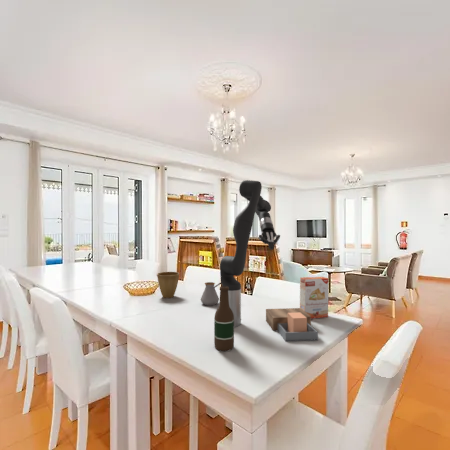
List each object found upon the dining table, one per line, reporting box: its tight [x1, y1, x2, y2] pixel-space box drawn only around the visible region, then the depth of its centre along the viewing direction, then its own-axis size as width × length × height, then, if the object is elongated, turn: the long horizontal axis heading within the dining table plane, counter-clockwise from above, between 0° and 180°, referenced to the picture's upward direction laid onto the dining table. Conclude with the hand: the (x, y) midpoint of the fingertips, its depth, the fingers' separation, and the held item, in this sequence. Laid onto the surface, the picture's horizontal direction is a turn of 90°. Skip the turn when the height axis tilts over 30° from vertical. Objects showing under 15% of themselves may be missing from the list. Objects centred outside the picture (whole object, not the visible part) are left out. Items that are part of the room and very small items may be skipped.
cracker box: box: [299, 276, 330, 320], centre depth 152 cm, size 14×6×21 cm, turn 105°
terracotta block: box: [288, 312, 307, 332], centre depth 126 cm, size 6×8×8 cm
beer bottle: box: [213, 285, 235, 352], centre depth 113 cm, size 8×8×24 cm
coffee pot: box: [200, 281, 222, 306], centre depth 180 cm, size 21×12×15 cm, turn 125°
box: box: [277, 323, 319, 342], centre depth 125 cm, size 14×12×4 cm
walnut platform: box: [265, 307, 312, 332], centre depth 139 cm, size 18×14×6 cm
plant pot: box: [156, 271, 180, 299], centre depth 195 cm, size 15×15×16 cm
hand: (272, 248), depth 157 cm, fingers closed
